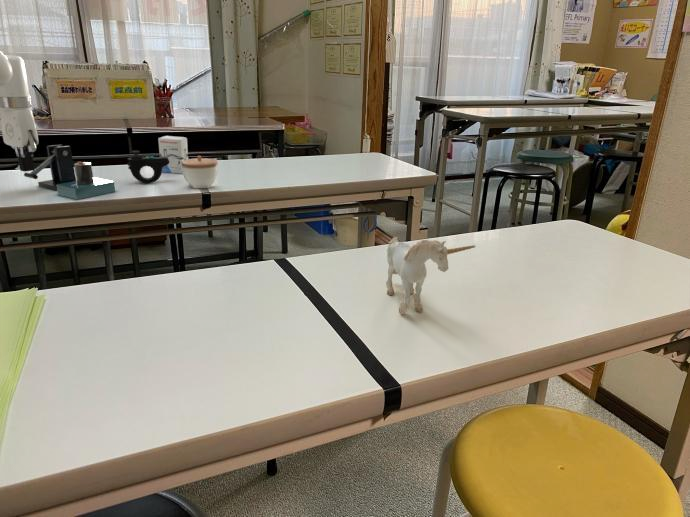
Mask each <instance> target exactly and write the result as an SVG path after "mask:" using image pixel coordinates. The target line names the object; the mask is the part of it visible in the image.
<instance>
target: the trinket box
mask: <svg viewBox="0 0 690 517" xmlns="http://www.w3.org/2000/svg"><path fill="white" fill-rule="evenodd" d="M181 164H182V170H183V174H182V175H183V178H184V180H185V181H186V183H187V184H188V185H190V186H191V188H193V189H208V188H211V187H212V185H213V184H214V183H215V182H216V180H217V177H218V171H219V168H218V164H219V163H218V160H216V159H214V158H207V157H204V158H203V157H202V156H201V155H197V157H196V158H195V157H194V158H188V159H187V160H183V161H182V162H181Z"/></svg>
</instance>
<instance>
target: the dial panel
mask: <svg viewBox="0 0 690 517" xmlns="http://www.w3.org/2000/svg"><path fill="white" fill-rule="evenodd" d="M93 178H94V183H92V184H85V185H81V184H77V180H76V181H73V182H68V183H63V184H57V191H56V192H57V195H58V196H61V197H64V198H67V199H68V198H69V199H73V200H77V201H78V200H84V199H88V198H92V197H97V196H102V195H107V194H110V193H115V192H116V186H115V181H113V180H109V179H104V178H99V177H93Z"/></svg>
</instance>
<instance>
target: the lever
mask: <svg viewBox="0 0 690 517" xmlns="http://www.w3.org/2000/svg"><path fill="white" fill-rule="evenodd" d="M57 147H62V146H57ZM51 152H52V153H53V155H52V156H50V157H49V158H48V157H47V159H45V160H44V161H43V162H42V163H40V164H39V165H38V166H37V167H36V168H35V170H33V171H30V173H29V172H24V173H23V176H24V177H25V178H29V179H33V180H37V179H38V178H39V176H38V174H39V173H40V172H42V171H43V170H44V169H45V168H47V167H48V166H50V163H51V162H52V161H53V160H55V159H56V155H55V149H54V150H53V151H51Z"/></svg>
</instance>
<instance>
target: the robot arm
mask: <svg viewBox="0 0 690 517" xmlns="http://www.w3.org/2000/svg"><path fill="white" fill-rule="evenodd" d="M26 71H27V70H26V66H25V61H24V59H23V58H22V57H21V56H19V55H15V54H4V53H3V52H2V51H1V50H0V127H1V128H0V129H1V133H2V134H1V135H2V139H3V140H2V141H3V143H4V144H5V145H7V146H10V147H11V148H12V149H13V150H14V151H15V154H16V157H17V162H18V165H19V170H20V171H21V172H24V173H27V172H32V171H33V170H35V169H36V168H35V163H34V152H36V151H37V146H38V145H39V135H38V129H37V125H36V120H35V117H34V114H33V111H32V109H33V107H32V101H31V95H30V89H29V83H28V77H27V72H26Z"/></svg>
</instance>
